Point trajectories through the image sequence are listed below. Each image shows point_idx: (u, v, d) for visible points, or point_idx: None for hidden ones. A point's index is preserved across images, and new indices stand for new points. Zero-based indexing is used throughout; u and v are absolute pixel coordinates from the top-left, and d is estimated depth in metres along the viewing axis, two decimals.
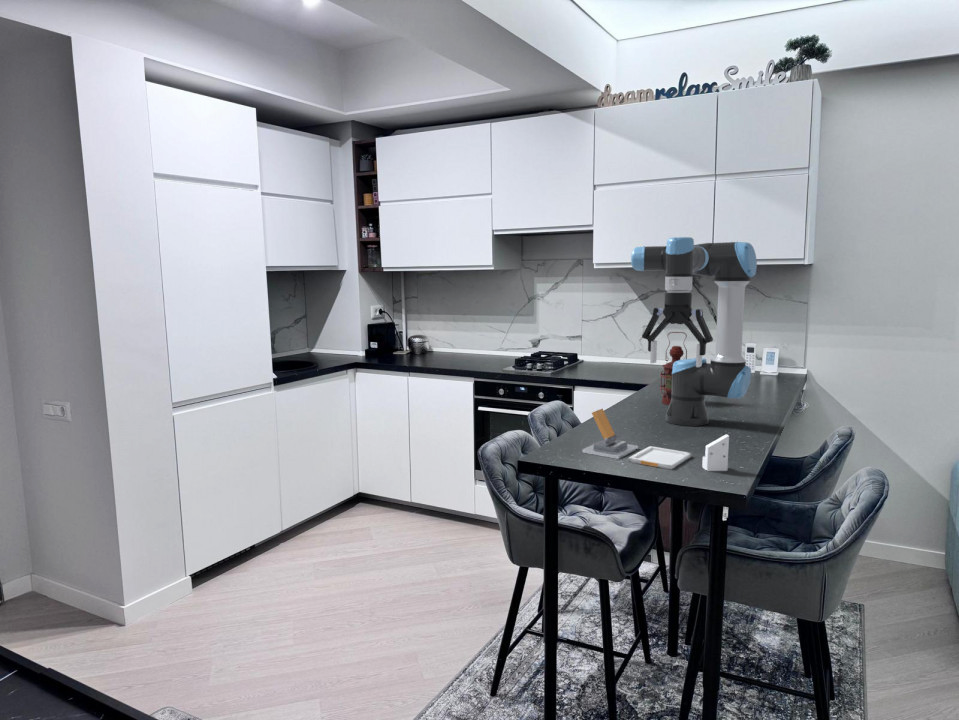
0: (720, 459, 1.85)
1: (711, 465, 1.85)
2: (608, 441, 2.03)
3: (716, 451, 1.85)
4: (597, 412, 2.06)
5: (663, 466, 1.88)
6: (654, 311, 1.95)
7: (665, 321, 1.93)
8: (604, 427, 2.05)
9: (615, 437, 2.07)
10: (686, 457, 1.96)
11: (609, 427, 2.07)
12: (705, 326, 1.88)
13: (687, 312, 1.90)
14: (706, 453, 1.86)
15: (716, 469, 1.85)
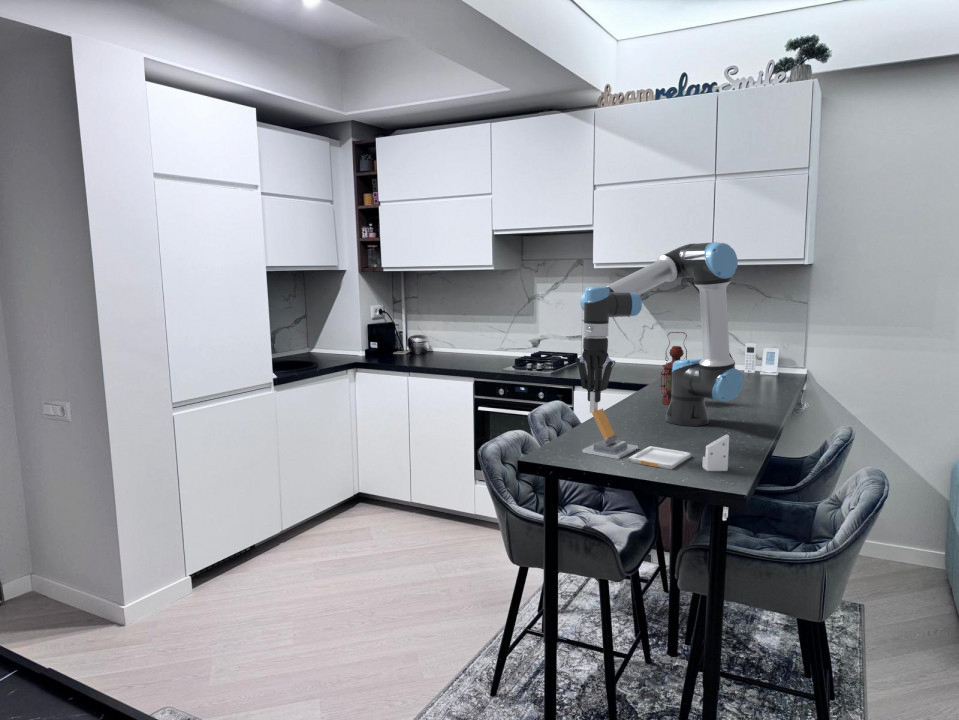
0: (720, 459, 1.85)
1: (711, 465, 1.85)
2: (608, 441, 2.03)
3: (716, 451, 1.85)
4: (597, 412, 2.06)
5: (663, 466, 1.88)
6: (577, 361, 2.08)
7: (589, 366, 2.06)
8: (604, 427, 2.05)
9: (615, 437, 2.07)
10: (686, 457, 1.96)
11: (609, 427, 2.07)
12: (607, 377, 2.04)
13: (603, 357, 2.03)
14: (706, 453, 1.86)
15: (716, 469, 1.85)
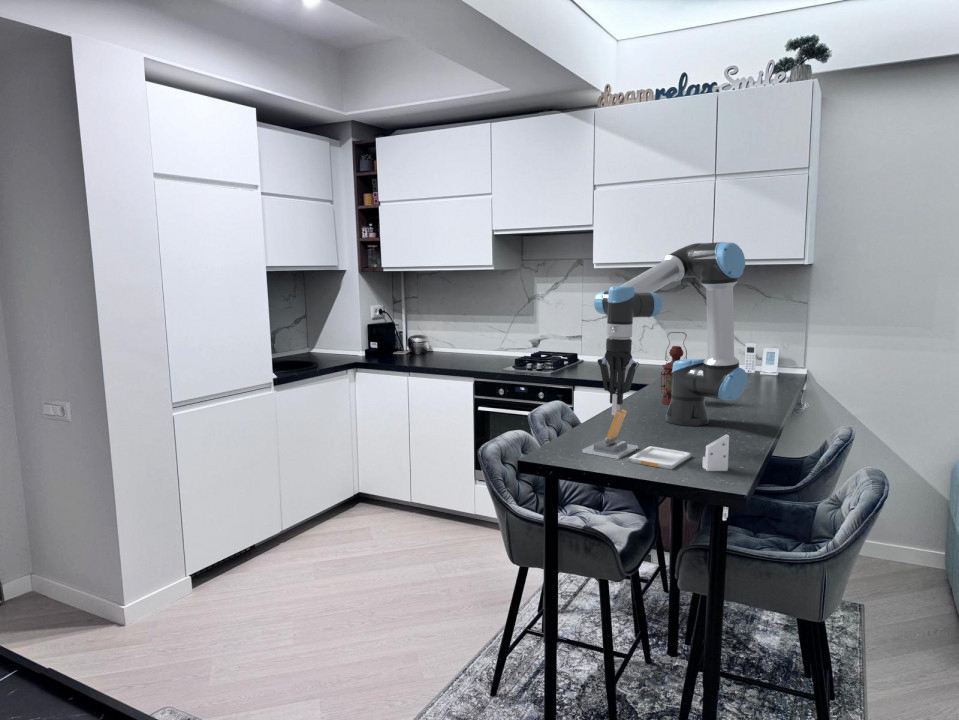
0: (720, 459, 1.85)
1: (711, 465, 1.85)
2: (607, 442, 2.04)
3: (716, 451, 1.85)
4: (620, 415, 2.01)
5: (663, 466, 1.88)
6: (599, 362, 2.04)
7: (612, 368, 2.01)
8: (614, 430, 2.03)
9: (615, 439, 2.07)
10: (686, 457, 1.96)
11: (618, 429, 2.05)
12: (630, 379, 1.99)
13: (626, 358, 1.98)
14: (706, 453, 1.86)
15: (716, 469, 1.85)
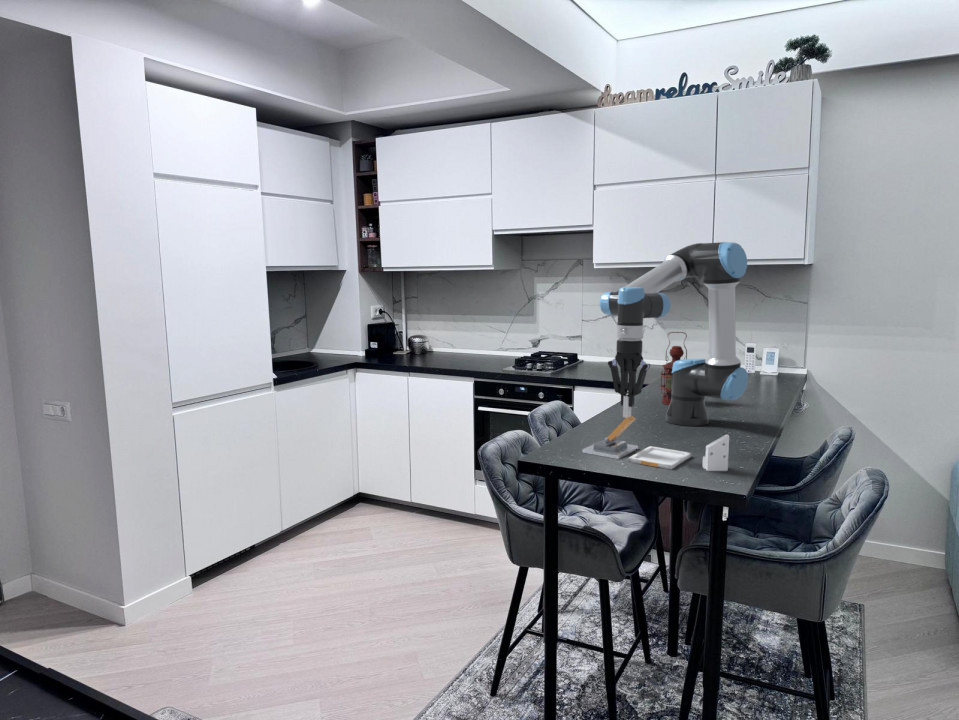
0: (720, 459, 1.85)
1: (711, 465, 1.85)
2: (607, 442, 2.04)
3: (716, 451, 1.85)
4: (628, 422, 2.00)
5: (663, 466, 1.88)
6: (609, 364, 2.02)
7: (622, 369, 1.99)
8: (618, 433, 2.02)
9: (614, 440, 2.07)
10: (686, 457, 1.96)
11: (620, 433, 2.05)
12: (642, 380, 1.97)
13: (637, 360, 1.96)
14: (706, 453, 1.86)
15: (716, 469, 1.85)
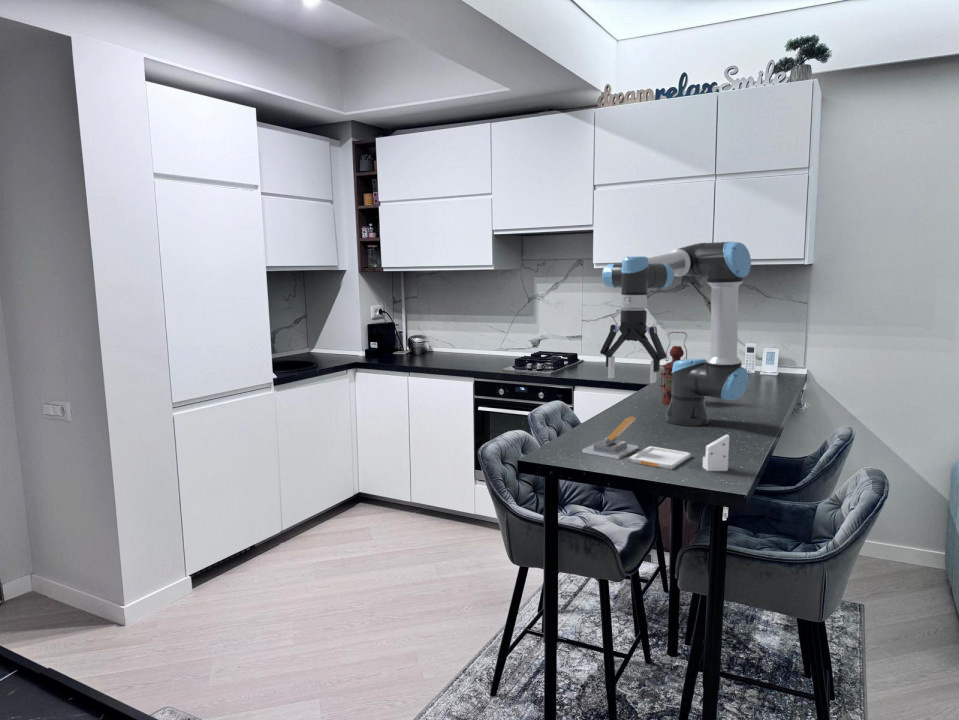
0: (721, 459, 1.85)
1: (711, 465, 1.85)
2: (607, 442, 2.04)
3: (716, 451, 1.85)
4: (628, 422, 2.00)
5: (663, 466, 1.88)
6: (611, 328, 2.00)
7: (621, 338, 1.98)
8: (618, 433, 2.02)
9: (614, 440, 2.07)
10: (686, 457, 1.96)
11: (621, 433, 2.05)
12: (658, 343, 1.92)
13: (641, 329, 1.94)
14: (706, 453, 1.86)
15: (716, 469, 1.85)
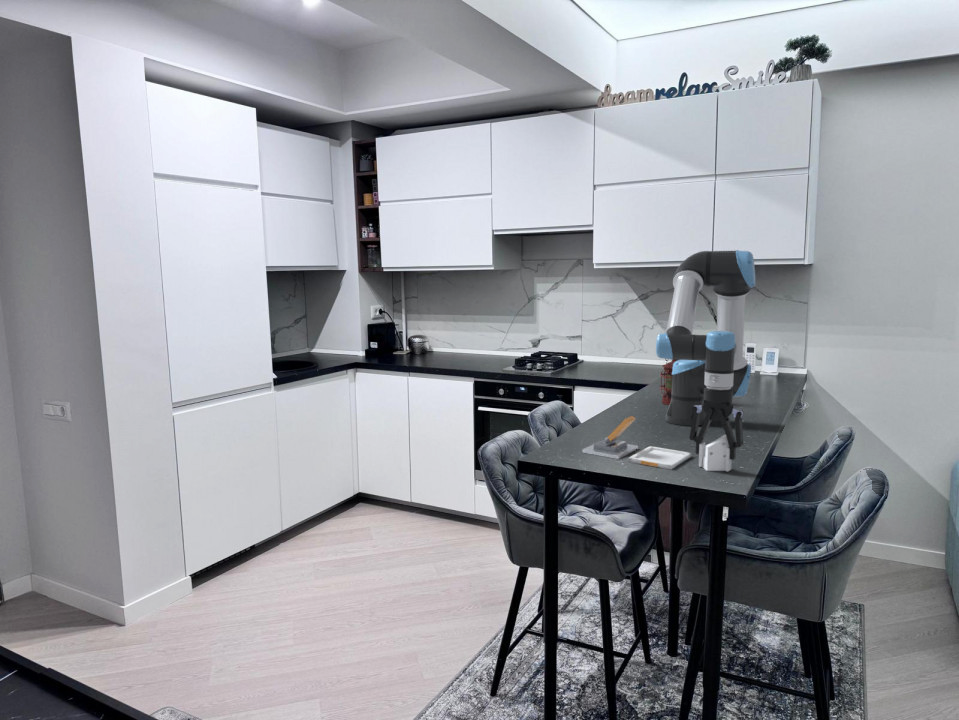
0: (720, 459, 1.85)
1: (711, 465, 1.85)
2: (607, 442, 2.04)
3: (716, 451, 1.85)
4: (628, 422, 2.00)
5: (663, 466, 1.88)
6: (693, 410, 1.88)
7: (707, 419, 1.85)
8: (618, 433, 2.02)
9: (614, 440, 2.07)
10: (686, 457, 1.96)
11: (621, 433, 2.05)
12: (740, 430, 1.81)
13: (728, 410, 1.82)
14: (706, 452, 1.86)
15: (716, 469, 1.85)
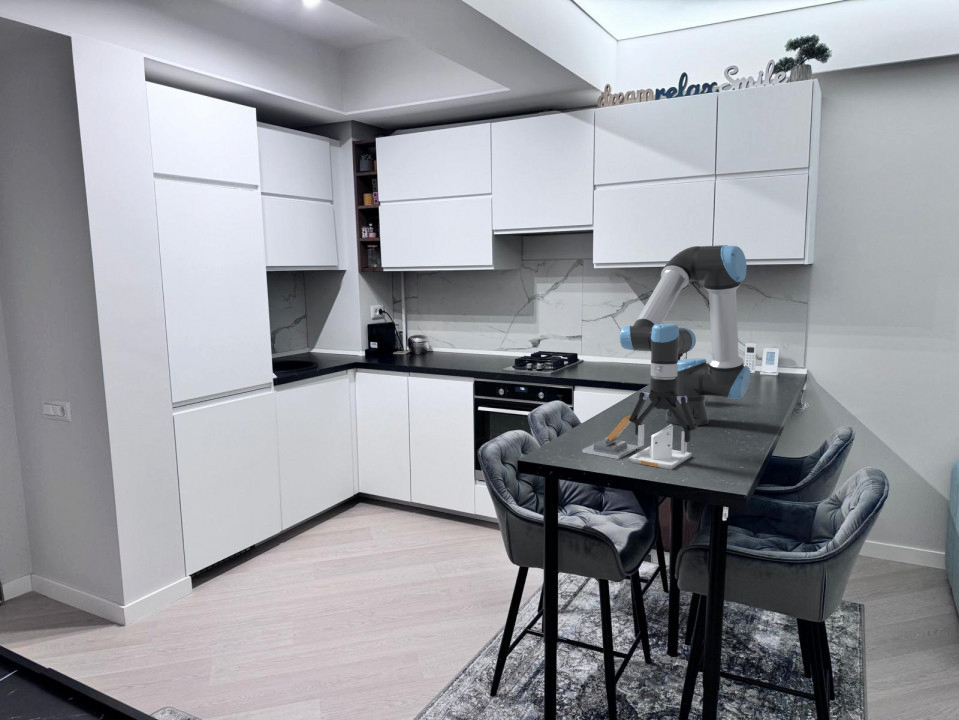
0: (665, 448, 1.94)
1: (656, 453, 1.95)
2: (607, 442, 2.04)
3: (661, 440, 1.94)
4: (627, 421, 2.00)
5: (663, 466, 1.88)
6: (640, 395, 1.97)
7: (651, 406, 1.95)
8: (617, 433, 2.02)
9: (614, 440, 2.07)
10: (686, 457, 1.96)
11: (620, 432, 2.05)
12: (690, 413, 1.89)
13: (672, 398, 1.91)
14: (651, 442, 1.95)
15: (661, 457, 1.95)
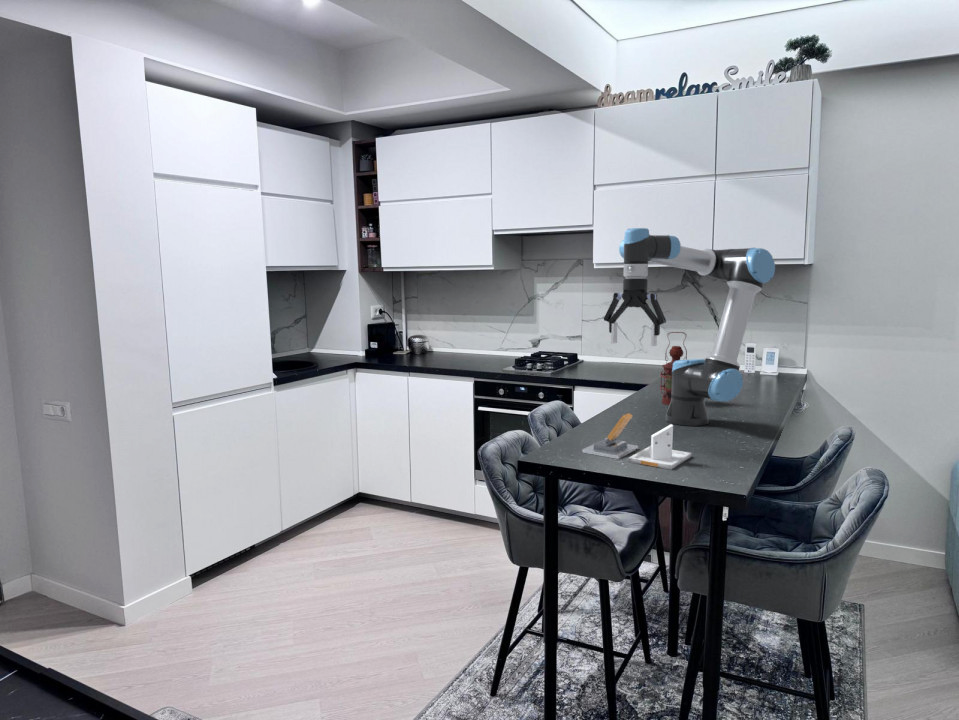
0: (665, 448, 1.94)
1: (656, 453, 1.95)
2: (607, 442, 2.04)
3: (661, 440, 1.94)
4: (626, 419, 2.00)
5: (663, 466, 1.88)
6: (614, 296, 2.15)
7: (624, 305, 2.12)
8: (617, 432, 2.02)
9: None
10: (686, 457, 1.96)
11: (620, 431, 2.05)
12: (659, 309, 2.07)
13: (643, 296, 2.09)
14: (651, 442, 1.95)
15: (661, 457, 1.95)
